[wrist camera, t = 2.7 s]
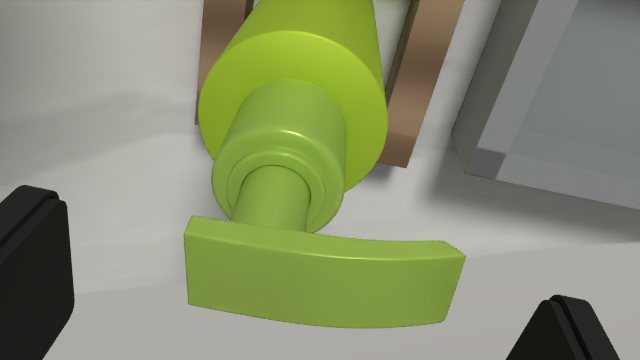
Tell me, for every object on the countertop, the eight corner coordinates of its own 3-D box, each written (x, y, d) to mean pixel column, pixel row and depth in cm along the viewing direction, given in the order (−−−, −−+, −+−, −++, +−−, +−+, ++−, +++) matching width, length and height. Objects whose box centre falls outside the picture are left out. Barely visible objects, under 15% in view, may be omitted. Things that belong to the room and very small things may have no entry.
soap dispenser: (383, 78, 28) (428, 401, 11) (261, 64, 28) (119, 366, 11) (403, -34, 25) (504, 180, 8) (265, -49, 25) (75, 131, 8)
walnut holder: (228, -153, 23) (215, -155, 21) (482, -92, 23) (495, -88, 21) (206, 106, 30) (194, 124, 27) (402, 147, 30) (406, 168, 28)
